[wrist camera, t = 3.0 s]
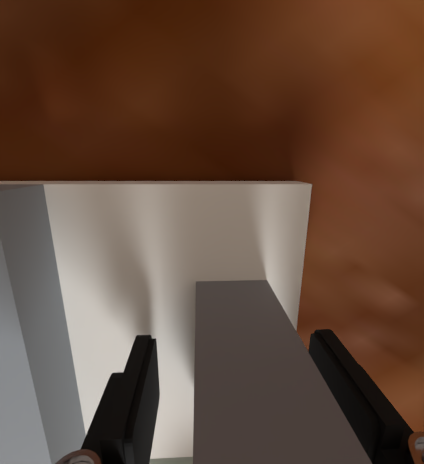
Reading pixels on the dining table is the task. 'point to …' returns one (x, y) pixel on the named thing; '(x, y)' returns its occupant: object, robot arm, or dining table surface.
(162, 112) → the dining table surface
